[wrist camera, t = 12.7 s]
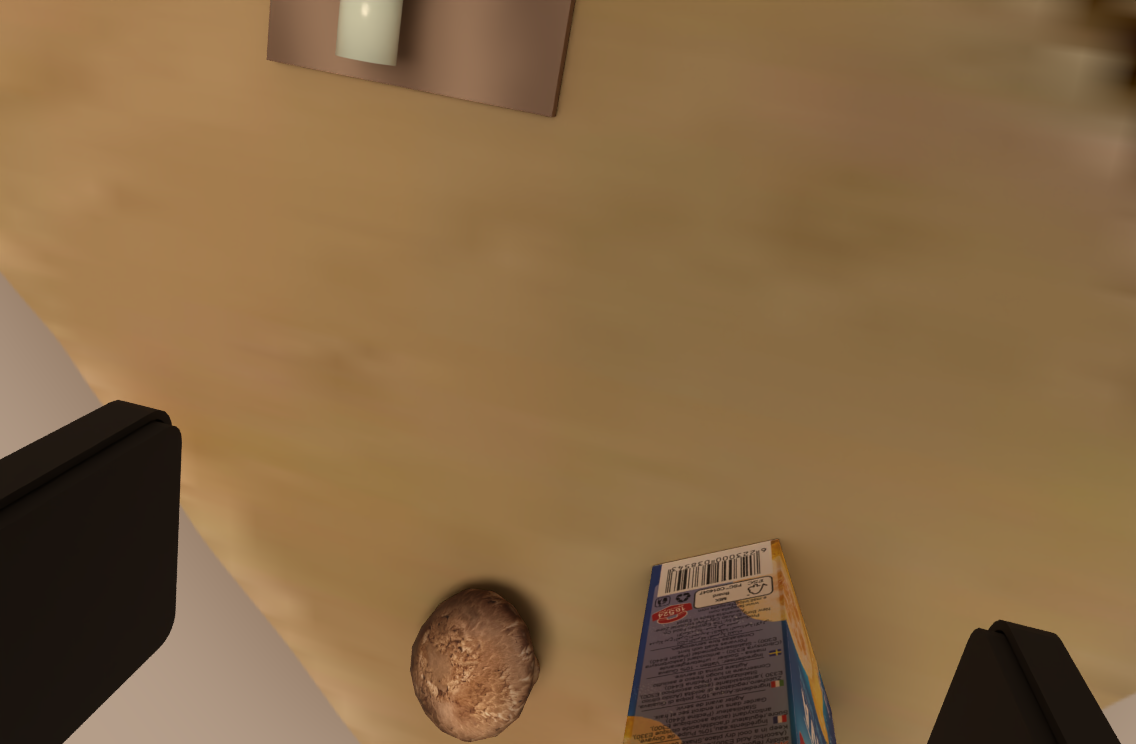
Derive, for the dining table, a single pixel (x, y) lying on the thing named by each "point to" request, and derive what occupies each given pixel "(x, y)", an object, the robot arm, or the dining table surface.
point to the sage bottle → (369, 30)
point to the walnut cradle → (444, 48)
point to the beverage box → (726, 656)
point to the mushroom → (473, 665)
